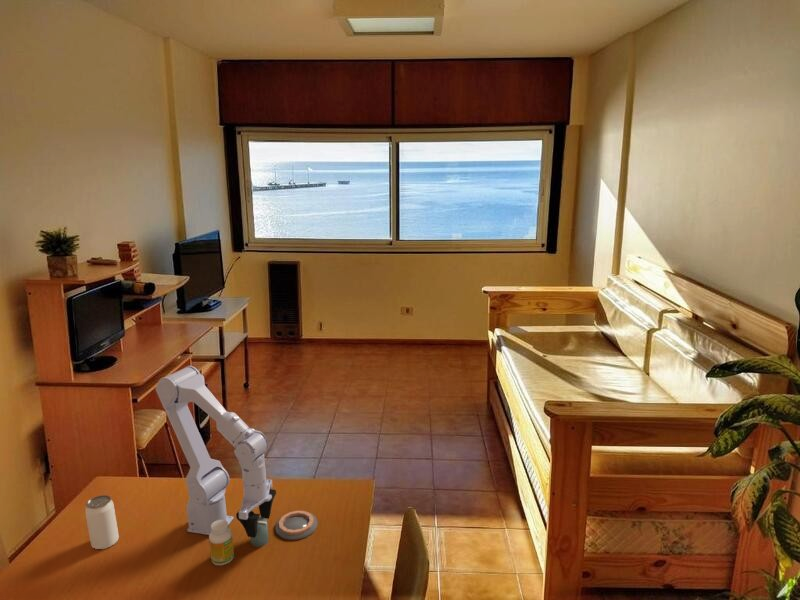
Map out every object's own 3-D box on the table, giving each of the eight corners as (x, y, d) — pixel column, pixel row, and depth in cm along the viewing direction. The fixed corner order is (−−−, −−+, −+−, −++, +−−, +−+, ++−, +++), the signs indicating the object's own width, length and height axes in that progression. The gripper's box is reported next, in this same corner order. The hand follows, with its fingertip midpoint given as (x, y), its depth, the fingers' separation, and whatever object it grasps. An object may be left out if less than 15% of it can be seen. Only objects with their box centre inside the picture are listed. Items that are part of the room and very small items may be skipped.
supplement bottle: (227, 567, 140) (224, 533, 137) (207, 564, 141) (203, 530, 138) (238, 552, 145) (234, 519, 142) (218, 549, 146) (214, 516, 143)
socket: (268, 536, 151) (268, 531, 150) (285, 511, 161) (285, 506, 160) (308, 542, 148) (307, 537, 148) (323, 516, 158) (322, 511, 158)
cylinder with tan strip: (247, 545, 147) (245, 525, 146) (255, 534, 152) (253, 515, 150) (264, 547, 146) (262, 528, 145) (271, 536, 151) (270, 517, 149)
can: (124, 537, 151) (118, 497, 147) (103, 553, 145) (96, 512, 142) (107, 531, 153) (100, 491, 150) (85, 546, 148) (78, 505, 144)
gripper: (255, 498, 137) (260, 547, 140) (281, 466, 150) (285, 511, 154) (228, 494, 138) (234, 543, 142) (256, 463, 152) (260, 508, 155)
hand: (258, 526), depth 148 cm, fingers open, 7 cm apart
